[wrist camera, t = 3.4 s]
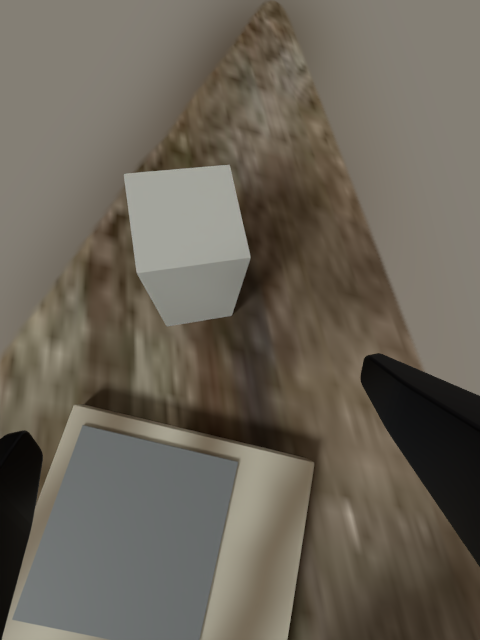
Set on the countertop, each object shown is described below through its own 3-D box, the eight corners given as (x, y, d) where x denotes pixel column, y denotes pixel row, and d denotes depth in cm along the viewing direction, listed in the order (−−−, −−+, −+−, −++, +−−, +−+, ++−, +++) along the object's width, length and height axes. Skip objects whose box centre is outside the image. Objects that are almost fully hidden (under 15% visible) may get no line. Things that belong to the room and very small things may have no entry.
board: (307, 458, 21) (315, 463, 19) (250, 808, 16) (256, 854, 14) (83, 404, 20) (72, 405, 18) (-46, 754, 15) (-76, 797, 14)
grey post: (231, 315, 23) (250, 257, 13) (166, 326, 22) (136, 273, 12) (220, 257, 24) (229, 164, 14) (157, 265, 23) (123, 173, 14)
